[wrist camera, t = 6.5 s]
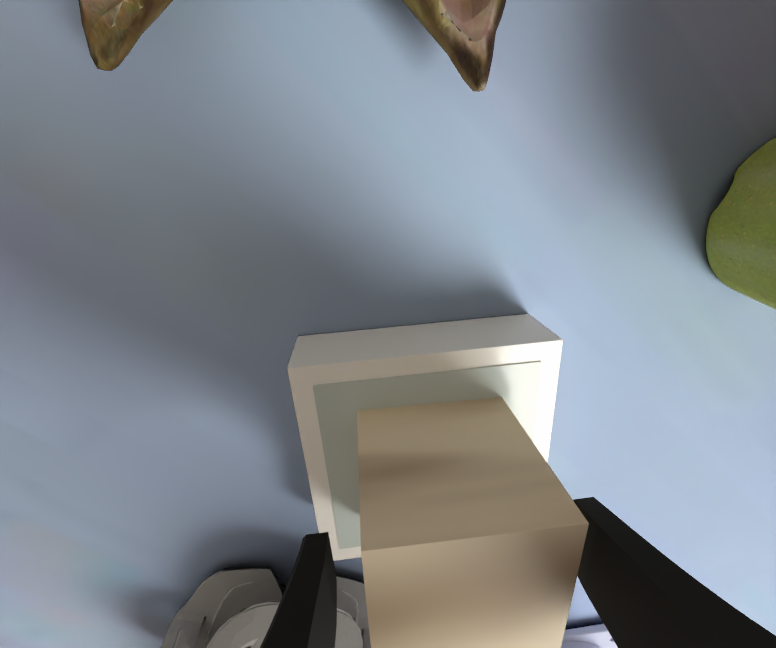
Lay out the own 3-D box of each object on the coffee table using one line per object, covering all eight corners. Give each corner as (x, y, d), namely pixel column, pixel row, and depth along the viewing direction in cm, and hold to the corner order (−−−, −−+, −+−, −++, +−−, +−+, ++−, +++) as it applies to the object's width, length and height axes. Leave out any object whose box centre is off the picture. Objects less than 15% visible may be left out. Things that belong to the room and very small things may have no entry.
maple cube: (492, 504, 15) (559, 656, 10) (366, 518, 14) (374, 683, 10) (501, 396, 13) (588, 523, 8) (356, 410, 12) (360, 551, 8)
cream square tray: (513, 486, 18) (538, 533, 15) (327, 510, 17) (324, 563, 15) (528, 313, 14) (563, 340, 12) (297, 336, 14) (286, 369, 11)
